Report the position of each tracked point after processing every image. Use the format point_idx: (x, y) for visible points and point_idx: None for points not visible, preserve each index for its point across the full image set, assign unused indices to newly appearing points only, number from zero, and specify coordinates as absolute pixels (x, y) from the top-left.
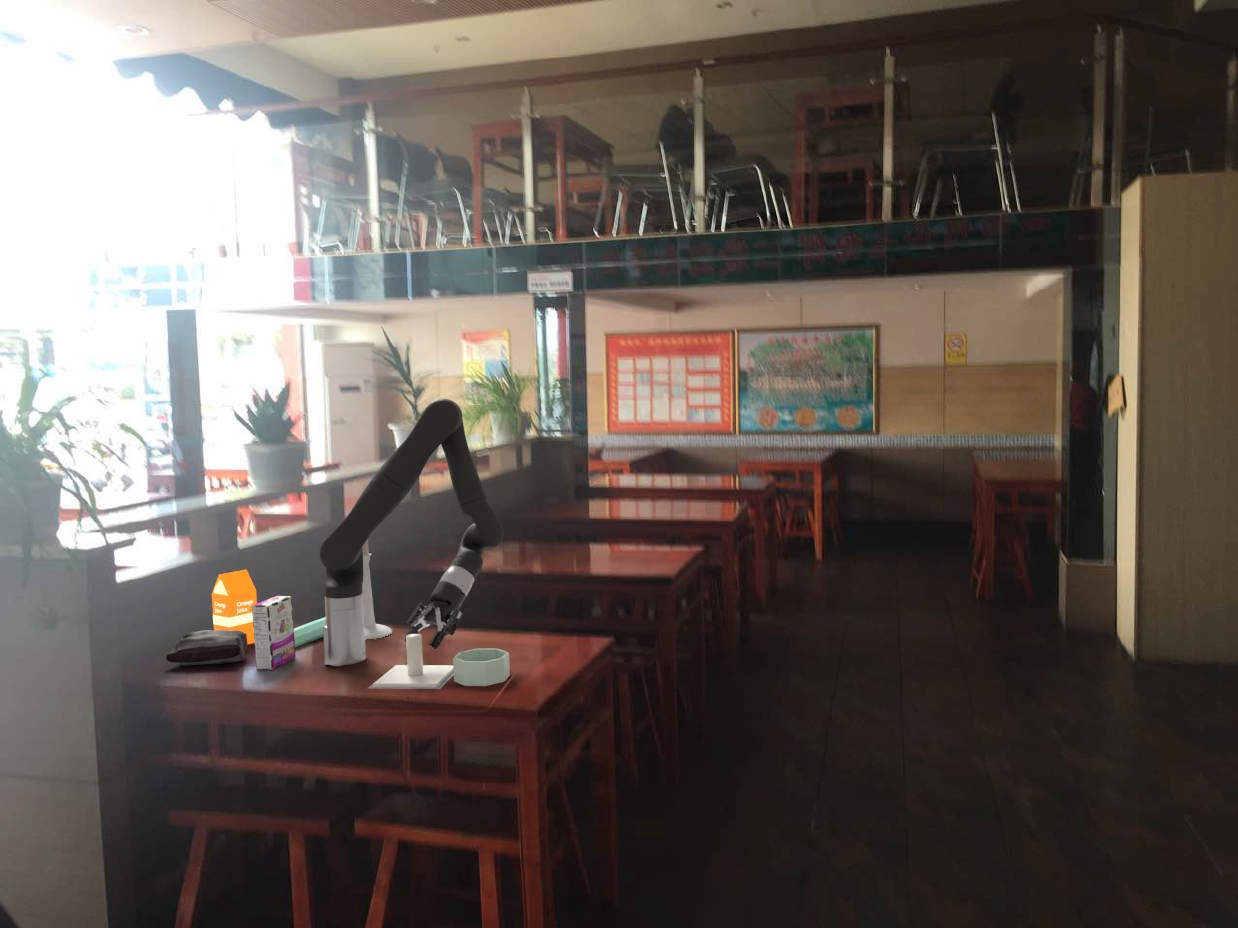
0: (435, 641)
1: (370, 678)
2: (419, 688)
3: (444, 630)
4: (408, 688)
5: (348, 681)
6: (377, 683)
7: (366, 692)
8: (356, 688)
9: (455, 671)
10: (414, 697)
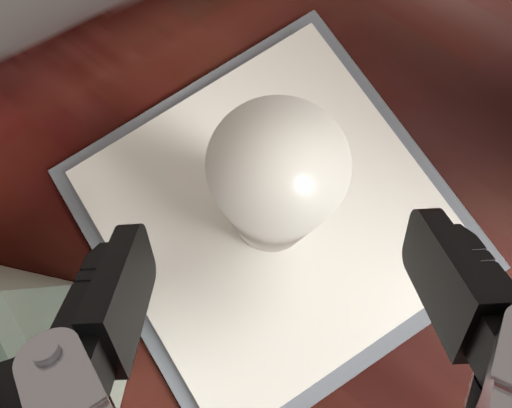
0: (93, 260)
1: (458, 121)
2: (128, 125)
3: (4, 374)
4: (167, 99)
5: (493, 45)
6: (297, 33)
7: (299, 3)
8: (378, 10)
9: (30, 282)
10: (87, 68)
